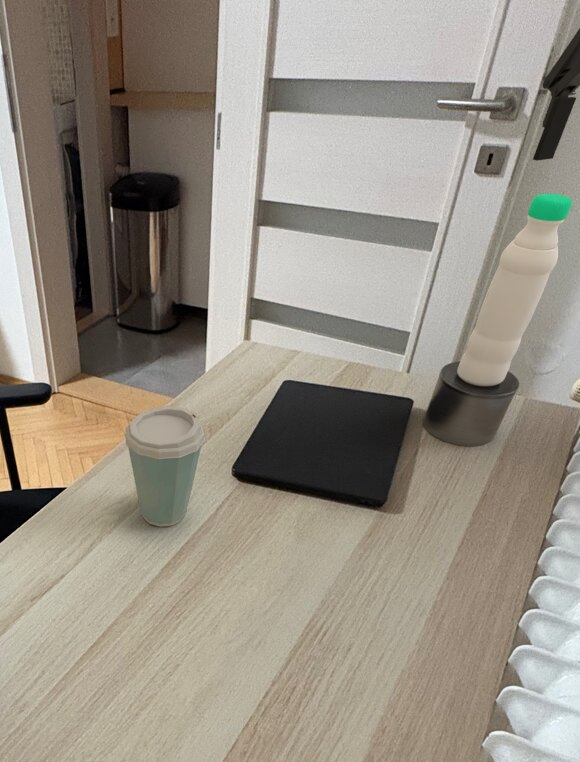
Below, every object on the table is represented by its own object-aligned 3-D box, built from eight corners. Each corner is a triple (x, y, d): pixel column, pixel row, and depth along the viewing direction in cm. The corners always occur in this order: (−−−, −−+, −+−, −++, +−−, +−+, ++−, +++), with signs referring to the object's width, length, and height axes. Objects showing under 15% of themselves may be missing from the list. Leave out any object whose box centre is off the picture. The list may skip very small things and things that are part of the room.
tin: (488, 412, 108) (510, 363, 102) (502, 449, 101) (527, 398, 94) (418, 406, 110) (435, 358, 104) (426, 442, 102) (445, 392, 96)
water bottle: (512, 385, 97) (597, 202, 79) (470, 390, 96) (546, 206, 78) (487, 365, 102) (561, 187, 83) (447, 369, 101) (513, 191, 83)
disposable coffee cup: (140, 543, 86) (139, 451, 76) (116, 499, 93) (113, 409, 83) (209, 526, 89) (219, 434, 78) (181, 484, 96) (186, 395, 85)
